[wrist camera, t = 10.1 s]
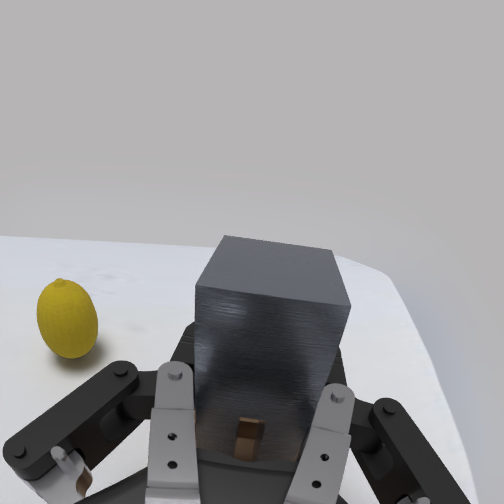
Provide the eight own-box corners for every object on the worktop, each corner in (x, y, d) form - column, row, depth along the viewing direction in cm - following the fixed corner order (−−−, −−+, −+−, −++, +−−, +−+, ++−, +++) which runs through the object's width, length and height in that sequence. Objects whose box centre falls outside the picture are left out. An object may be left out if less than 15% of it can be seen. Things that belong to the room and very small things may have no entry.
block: (198, 484, 12) (195, 284, 8) (212, 429, 16) (224, 235, 11) (276, 495, 12) (351, 305, 8) (280, 439, 16) (331, 250, 11)
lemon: (96, 332, 27) (84, 260, 24) (111, 368, 23) (96, 289, 20) (46, 343, 24) (27, 270, 21) (54, 382, 20) (28, 303, 17)
